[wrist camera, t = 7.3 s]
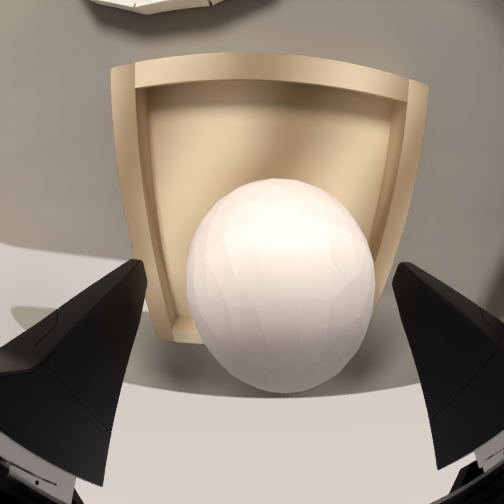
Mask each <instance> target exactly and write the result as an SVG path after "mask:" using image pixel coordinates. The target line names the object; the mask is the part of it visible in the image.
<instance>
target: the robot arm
mask: <svg viewBox="0 0 504 504" xmlns="http://www.w3.org/2000/svg"><path fill="white" fill-rule="evenodd" d="M147 284H148V281H147V276H146V271H145V267H144V263H143V261H142V260H141V259H130V260H129V261H127V262H126V263H124V264H122V265H121V266H120V267H118V268H116V269H115V270H113V271H112V272H110V273H109V274H107V275H106V276H104V277H103V278H101V279H100V280H98V281H97V282H95V283H94V284H92V285H91V286H89V287H88V288H86V289H85V290H83V291H82V292H81V293H79V294H78V295H76V296H75V297H73V298H72V299H70V300H69V301H68V302H66V303H65V304H63V305H62V306H61V307H59V310H58V309H56V310H55V311H54V312H52V313H51V314H50V315H48V316H47V317H45V318H44V319H43V320H41V321H40V322H38V323H37V324H35V325H34V326H32V327H31V328H29V329H28V330H26V331H25V332H23V333H22V334H20V335H19V336H17V337H16V338H14V339H13V340H11V341H10V342H8V343H7V344H5V345H4V346H2V347H0V504H84V503H83V501H82V500H81V498H80V497H79V495H78V493H77V492H76V490H75V488H74V486H75V481H76V477H77V478H79V479H82V480H84V481H87V482H90V483H92V484H95V485H98V486H101V487H102V486H103V481H104V473H105V467H106V461H107V455H108V448H109V443H110V437H111V431H112V426H113V422H114V417H115V413H116V408H117V404H118V399H119V395H120V391H121V387H122V383H123V379H124V375H125V372H126V368H127V364H128V361H129V357H130V353H131V350H132V346H133V343H134V340H135V336H136V333H137V330H138V326H139V323H140V319H141V314H142V309H143V303H144V299H145V294H146V289H147ZM392 287H393V290H394V294H395V298H396V302H397V305H398V309H399V313H400V317H401V321H402V324H403V327H404V330H405V333H406V336H407V339H408V342H409V345H410V348H411V351H412V355H413V358H414V361H415V365H416V368H417V372H418V375H419V379H420V383H421V387H422V390H423V395H424V399H425V403H426V407H427V411H428V417H429V422H430V427H431V432H432V438H433V444H434V450H435V457H436V465H437V469H438V470H440V469H442V468H444V467H446V466H448V465H450V464H452V463H454V462H456V461H458V460H460V459H462V458H463V457H465V456H467V455H469V454H470V453H472V452H475V456H476V459H477V460H475V461H473V462H472V463H470V464H469V465H467V466H465V467H463V468H462V469H460V471H459V473H458V476H457V478H456V480H455V482H454V485H453V486H452V489H451V491H450V493H449V494H448V495H447V496H444V497H442V498H440V499H439V500H437V501H435V502H432V503H430V504H504V323H503V322H502V321H500V320H499V319H497V318H495V317H494V316H493V315H491V314H490V313H488V312H487V311H485V310H484V309H482V308H481V307H479V306H478V305H476V304H475V303H474V302H472V301H471V300H469V299H468V298H466V297H465V296H463V295H462V294H460V293H459V292H457V291H455V290H454V289H452V288H451V287H449V286H448V285H446V284H445V283H443V282H441V281H440V280H438V279H437V278H435V277H433V276H432V275H430V274H428V273H427V272H425V271H423V270H422V269H420V268H419V267H417V266H415V265H413V264H412V263H410V262H401V263H399V265H398V267H397V270H396V272H395V275H394V278H393V281H392Z"/></svg>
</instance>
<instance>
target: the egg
mask: <svg viewBox="0 0 504 504" xmlns="http://www.w3.org/2000/svg"><path fill="white" fill-rule="evenodd" d="M186 293H187V300H188V307H189V311H190V314H191V316H192V318H193V321H194V323H195V325H196V328H197V330H198V332H199V334H200V337H201V339H202V340H203V342H204V344H205V345H206V347H207V348H208V350H209V351H210V352H211V353H212V355H213V356H214V357H215V358H216V360H217V361H218V362H219V363H220V364H221V365H222V366H223V367H224V368H225V369H226V370H227V371H228V372H229V373H230V374H231V375H232V376H234V377H235V378H237V379H239V380H240V381H242V382H244V383H247V384H249V385H251V386H254V387H256V388H258V389H261V390H265V391H268V392H277V393H293V392H300V391H306V390H309V389H311V388H313V387H315V386H317V385H320V384H322V383H324V382H326V381H328V380H330V379H331V378H333V377H334V376H335V375H337V374H338V373H339V372H340V371H341V370H342V369H343V368H344V367H345V365H346V364H347V363H348V362H349V361H350V359H351V358H352V357H353V356H354V355H355V353H356V352H357V351H358V350H359V348H360V346H361V344H362V342H363V339H364V337H365V334H366V331H367V328H368V325H369V322H370V319H371V316H372V311H373V303H374V294H375V272H374V262H373V259H372V255H371V252H370V249H369V246H368V243H367V240H366V238H365V236H364V234H363V233H362V231H361V229H360V227H359V225H358V224H357V222H356V221H355V219H354V218H353V217H352V216H351V214H350V213H349V212H348V210H347V209H346V208H345V207H344V206H343V205H342V204H341V203H340V202H339V201H337V200H336V199H335V198H334V197H332V196H331V195H329V194H328V193H327V192H325V191H324V190H322V189H320V188H318V187H315V186H312V185H309V184H307V183H304V182H301V181H298V180H292V179H275V178H271V179H266V180H261V181H255V182H251V183H248V184H246V185H243V186H241V187H238V188H237V189H235V190H234V191H232V192H231V193H229V194H228V195H226V196H225V197H223V198H222V199H220V200H219V201H218V202H217V203H216V204H215V205H214V206H213V207H212V209H211V210H210V211H209V212H208V213H207V215H206V216H205V217H204V218H203V219H202V221H201V222H200V224H199V226H198V228H197V230H196V232H195V235H194V237H193V239H192V242H191V246H190V250H189V255H188V260H187V264H186Z"/></svg>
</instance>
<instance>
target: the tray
mask: <svg viewBox="0 0 504 504" xmlns="http://www.w3.org/2000/svg"><path fill="white" fill-rule="evenodd" d="M428 91H429V86H428V85H425V84H422V83H420V82H417V81H414V80H411V79H408V78H405V77H401V76H398V75H395V74H391V73H388V72H384V71H381V70H377V69H373V68H369V67H364V66H360V65H355V64H351V63H345V62H340V61H335V60H329V59H322V58H315V57H307V56H298V55H288V54H274V53H208V54H194V55H184V56H175V57H167V58H160V59H153V60H147V61H142V62H137V63H132V64H127V65H122V66H118V67H114V68H111V98H112V117H113V130H114V141H115V150H116V159H117V167H118V174H119V181H120V188H121V194H122V200H123V205H124V211H125V216H126V221H127V226H128V231H129V236H130V240H131V245H132V249H133V254H134V258H135V259H141V260H142V261H143V263H144V267H145V271H146V276H147V281H148V284H147V289H146V294H145V299H146V302H147V306H148V309H149V312H150V315H151V319H152V322H153V325H154V328H155V331H156V334H157V337H158V340H159V341H168V342H181V343H197V344H204V342H203V340H202V339H201V337H200V334H199V332H198V330H197V328H196V325H195V323H194V321H193V318H192V316H191V314H190V311H189V307H188V300H187V293H186V264H187V260H188V255H189V250H190V246H191V242H192V239H193V237H194V235H195V232H196V230H197V228H198V226H199V224H200V222H201V221H202V219H203V218H204V217H205V216H206V215H207V213H208V212H209V211H210V210H211V209H212V207H213V206H214V205H215V204H216V203H217V202H218V201H219V200H220V199H222V198H223V197H225V196H226V195H228V194H229V193H231V192H232V191H234V190H235V189H237V188H238V187H241V186H243V185H246V184H248V183H251V182H255V181H261V180H266V179H271V178H275V179H292V180H298V181H301V182H304V183H307V184H309V185H312V186H315V187H318V188H320V189H322V190H324V191H325V192H327V193H328V194H329V195H331V196H332V197H334V198H335V199H336V200H337V201H339V202H340V203H341V204H342V205H343V206H344V207H345V208H346V209H347V210H348V212H349V213H350V214H351V216H352V217H353V218H354V219H355V221H356V222H357V224H358V225H359V227H360V229H361V231H362V233H363V234H364V236H365V238H366V240H367V243H368V246H369V249H370V252H371V255H372V259H373V262H374V272H375V294H374V303H373V311H372V316H373V314H374V311H375V309H376V306H377V304H378V302H379V299H380V296H381V294H382V291H383V289H384V286H385V283H386V281H387V278H388V275H389V272H390V269H391V267H392V264H393V261H394V258H395V255H396V252H397V248H398V245H399V242H400V239H401V235H402V232H403V229H404V225H405V222H406V218H407V214H408V210H409V206H410V203H411V198H412V194H413V190H414V186H415V181H416V176H417V171H418V166H419V161H420V155H421V150H422V143H423V137H424V130H425V122H426V114H427V104H428ZM372 316H371V318H372ZM370 321H371V319H370ZM369 323H370V322H369Z"/></svg>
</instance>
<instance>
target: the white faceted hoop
mask: <svg viewBox="0 0 504 504" xmlns="http://www.w3.org/2000/svg"><path fill="white" fill-rule="evenodd" d="M91 1H93V2H96V3H98V4H100V5H105V6H110V7H115V8H120V9H124V10H128V11H132V12H136V13H140V14H143V15H145V14H147V15H149V14H154V13H159V12H165V11H171V10H178V9H186V8H195V7H206V6H210V2H211V3H212V5H215V4H217V3H219V2H221V1H223V0H91Z"/></svg>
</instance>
